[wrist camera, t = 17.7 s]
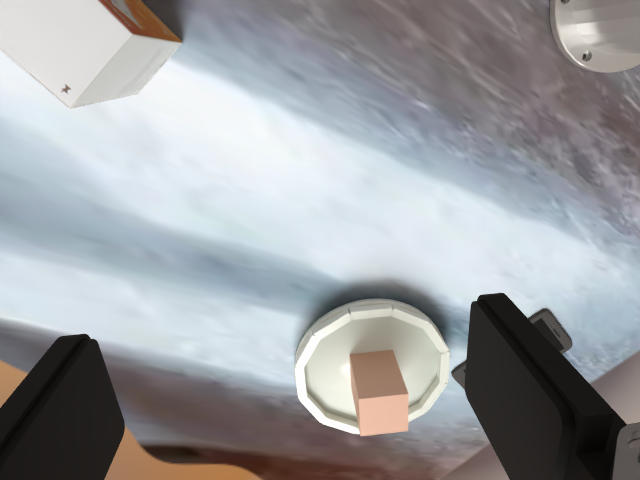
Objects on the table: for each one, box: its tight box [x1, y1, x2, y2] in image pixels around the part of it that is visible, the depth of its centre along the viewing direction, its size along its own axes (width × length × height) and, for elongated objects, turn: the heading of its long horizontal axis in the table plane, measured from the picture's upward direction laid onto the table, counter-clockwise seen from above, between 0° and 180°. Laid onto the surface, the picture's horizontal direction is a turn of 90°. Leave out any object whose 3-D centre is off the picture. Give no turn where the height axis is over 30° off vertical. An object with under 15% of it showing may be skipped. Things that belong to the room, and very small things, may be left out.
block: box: [349, 350, 409, 436], centre depth 47 cm, size 5×5×7 cm
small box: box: [0, 0, 183, 109], centre depth 30 cm, size 8×6×13 cm
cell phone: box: [451, 309, 572, 389], centre depth 53 cm, size 7×14×1 cm, turn 131°
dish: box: [294, 298, 450, 434], centre depth 50 cm, size 18×18×3 cm
